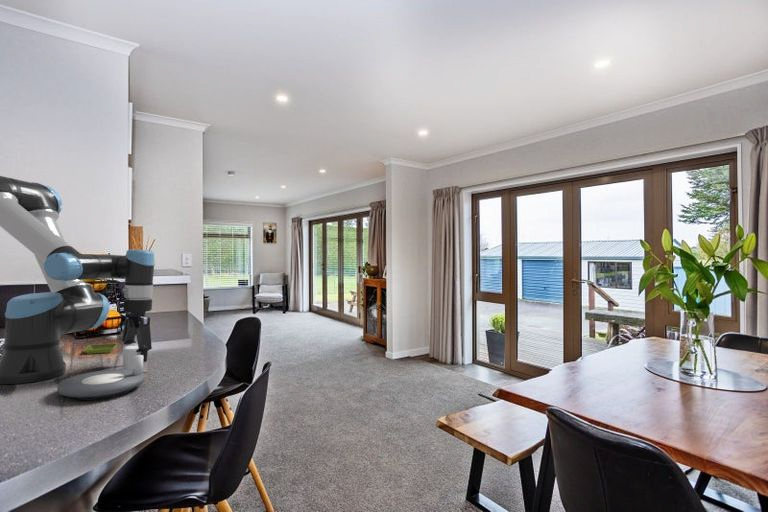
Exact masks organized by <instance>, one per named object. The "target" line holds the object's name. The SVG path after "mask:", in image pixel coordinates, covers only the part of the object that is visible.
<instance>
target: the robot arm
mask: <svg viewBox="0 0 768 512" xmlns="http://www.w3.org/2000/svg"><path fill="white" fill-rule="evenodd" d="M61 206H63V202H62V199H61V196H60V194H59V193H58V192H57V191H56V189H54V188H52V187H51V186H48V185H45V184H42V183H39V182H30V181H25V180H20V179H17V178H16V179H15V178H12V177H6V176H3V175H0V228H1V229H3V230H4V231H5V232H7V233H8V234H9V235H10V236H12V237H13V239H15V240H16V241H18V242H19V243H20V244H21V245H23V247H25V248H26V249H28V250H29V251H30V252H31V253H32V254H33V255H34V257H35V259H36V261H37V264H38V266H39V269H40V270H41V272H42V276H43V277H44V279H45V281H46V284H47V286H48V288H49V290H50V292H49V291H48V292H36V293H35V292H34V293H33V292H32V293H27V294H21V295H18V296H15V297H12V298H10V300H9V299H8V302H7V304H6V309H5V313H4V317H5V322H4V323H5V327H4V328H5V329H4V342H3V343H4V345H3V352H2V354H1V357H0V384H1V385H16V384H18V385H19V384H28V383H34V382H35V383H36V382H40V381H45V380H50V379H53V378H57V377H60V376H62V375H64V374H65V373H66V371H67V363H66V362H65V361H64V357H63V354H62V351H61V347H60V342H61V339H60V338H61V335H65V334H71V333H77V332H83V331H88V330H90V329H95V328H97V327H98V328H99V327H100V326H101V325H102V324H103V323H104V322H105V321H106V320H107V317H108V315H109V313H110V302H109V300H108V298H107V297H106V296H105V295H104V294H101V293H99V292H95V291H94V288H93V287H92V285H91V283H88V282H84V280H105V279H110V280H111V279H114V280H115V279H116V280H117V279H119V280H124V288H122V292H123V293H124V295H123V297H124V298H125V299H124V300H123V312H125V314H124V315H125V320H124V326H123V331H122V337H121V341H122V342H123V347H126V346H131V345H136V344H137V345H138V348H139V349H137V351H136V352H137V355H143V373H147V372H148V363H149V362H148V361H149V351H151V350H152V349H153V347H152V345H153V344H152V337H151V336H152V335H151V333H152V332H151V325H150V324H151V317H150V316H147V315H146V313H147V312H151V311H152V309H153V300H152V298H153V296H154V272H155V252H153V251H152V250H150V249H149V250H148V249H127V250H126V254H125V255H120V254H118V255H117V254H104V253H103V254H96V253H95V254H91V253H81V252H79V251H78V250H77V249H76V248H74V247H73V246H71V244H69V243H68V242H66V241H65V238H64V236H63V235H62V232H61V230H60V227H59V226H58V223H57V220H58V219H59V217H60V213H61V212H62V209H63V208H62V207H61ZM135 338H136V340H135ZM136 342H137V343H136ZM122 365H123V366H124V364H122Z"/></svg>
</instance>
